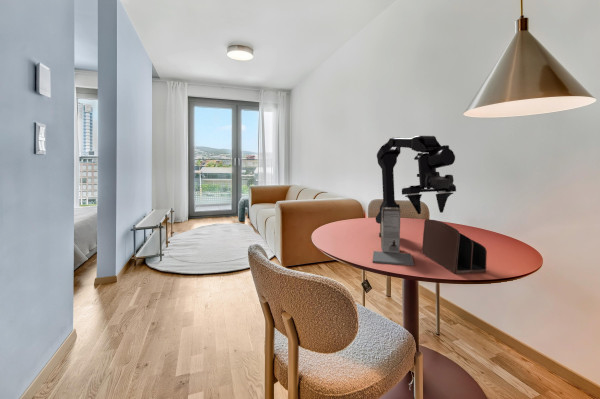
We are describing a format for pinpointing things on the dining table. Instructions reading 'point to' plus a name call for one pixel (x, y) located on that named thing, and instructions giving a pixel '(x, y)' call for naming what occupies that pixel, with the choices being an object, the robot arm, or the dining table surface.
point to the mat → (392, 258)
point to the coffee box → (390, 229)
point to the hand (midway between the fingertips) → (430, 213)
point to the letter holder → (452, 249)
